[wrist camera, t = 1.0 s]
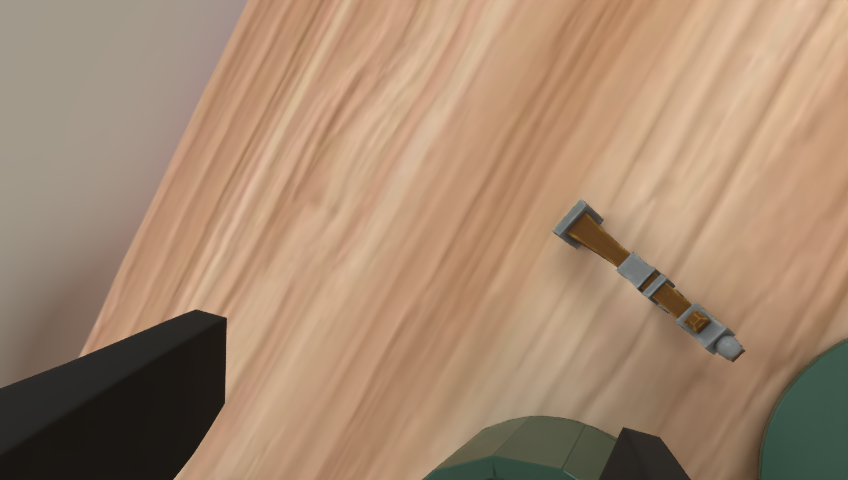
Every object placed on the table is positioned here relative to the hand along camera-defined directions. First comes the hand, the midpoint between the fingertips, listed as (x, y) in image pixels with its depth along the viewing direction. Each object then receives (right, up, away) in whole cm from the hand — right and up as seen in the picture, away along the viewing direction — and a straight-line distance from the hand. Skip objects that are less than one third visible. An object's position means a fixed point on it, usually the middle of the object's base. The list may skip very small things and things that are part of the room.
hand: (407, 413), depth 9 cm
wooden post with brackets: (+10, +2, +12) cm, 16 cm away
